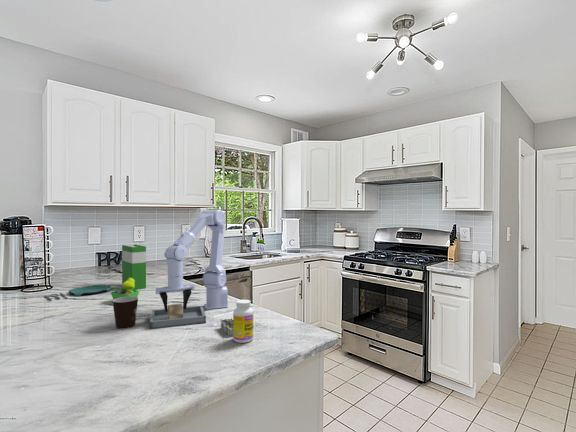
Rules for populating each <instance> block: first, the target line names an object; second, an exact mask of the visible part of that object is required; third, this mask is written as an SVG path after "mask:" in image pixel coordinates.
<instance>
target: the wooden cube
mask: <svg viewBox="0 0 576 432" xmlns="http://www.w3.org/2000/svg"><path fill="white" fill-rule="evenodd" d="M167 308H168V319H177V318H183V303H174V304H167Z"/></svg>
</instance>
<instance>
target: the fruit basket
mask: <svg viewBox="0 0 576 432" xmlns="http://www.w3.org/2000/svg"><path fill="white" fill-rule="evenodd" d="M134 283H135V280H134V279H133V278H128V279H127V280H126V281H125V282H124V283H123V284H121V285H122V288H123V289H122V288H119V289H117V290H114V291H111V292H110V295H111V296H112V301H113V300H114V299H116V298H121V297H138V296H139V294H140V290H133V289H134V287H135V284H134ZM138 298H139V297H138Z"/></svg>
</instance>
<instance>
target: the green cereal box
mask: <svg viewBox="0 0 576 432" xmlns="http://www.w3.org/2000/svg"><path fill="white" fill-rule="evenodd" d="M121 247H122V248H121V269H122V270H121V273H122V274H121V277H122V280H121V283H122V284H123V283H124V282H125V281H126V280H127V279H128V278H133V279H134V280H135V283H134V284H135V287H134V289H133V290H136V291H139V290H145V288H146V289H147V246H144V245H141V244H133V245H123V244H122V245H121ZM122 284H121V285H122ZM138 289H139V290H138Z"/></svg>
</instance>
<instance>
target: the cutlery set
mask: <svg viewBox="0 0 576 432" xmlns="http://www.w3.org/2000/svg"><path fill="white" fill-rule="evenodd" d="M111 289H112V287H111V285H106V284H93V285H88V286H82V287H76V288H75V287H74V288H72V289H69V290H68V293H69V294H70V295H74V296H76V297H81V296H82V295H90V294H97V293H102V292H108V291H111ZM59 295H61V296H62V297H64V298H65V299H68V297H67V296H66V294H64V293H63V292H59V294H58V293H51V294H50V296H49V295H43V298H44V299H47V300H48V301H49V302H50V301H51V302H52V300H53V299H52V298H53V297H54V298H56V299H57V300H61V297H59ZM51 297H52V298H51Z"/></svg>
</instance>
